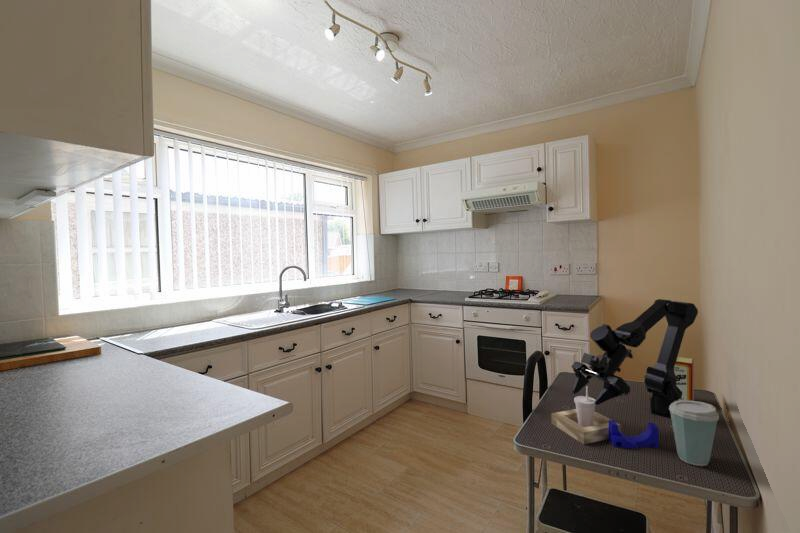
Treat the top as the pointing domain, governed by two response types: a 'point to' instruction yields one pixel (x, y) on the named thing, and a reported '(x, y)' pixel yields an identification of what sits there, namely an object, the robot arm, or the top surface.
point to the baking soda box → (685, 377)
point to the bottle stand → (582, 434)
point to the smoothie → (585, 409)
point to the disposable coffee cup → (694, 430)
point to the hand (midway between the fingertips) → (584, 398)
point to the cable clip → (643, 440)
